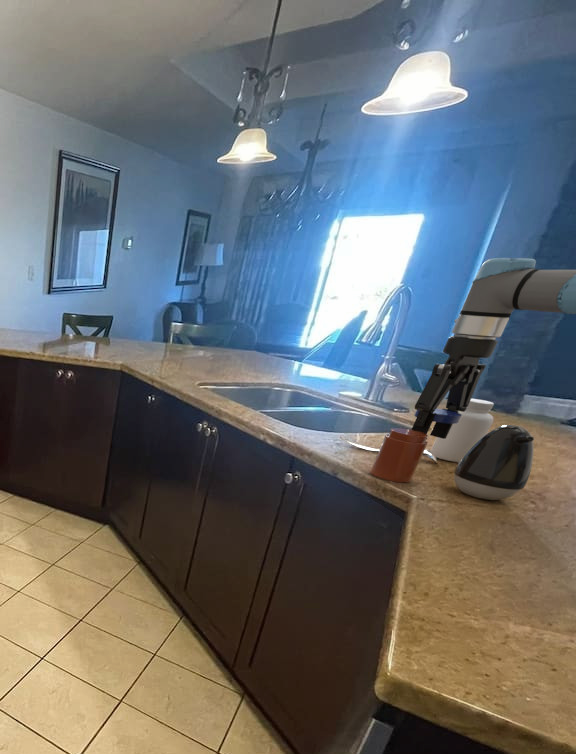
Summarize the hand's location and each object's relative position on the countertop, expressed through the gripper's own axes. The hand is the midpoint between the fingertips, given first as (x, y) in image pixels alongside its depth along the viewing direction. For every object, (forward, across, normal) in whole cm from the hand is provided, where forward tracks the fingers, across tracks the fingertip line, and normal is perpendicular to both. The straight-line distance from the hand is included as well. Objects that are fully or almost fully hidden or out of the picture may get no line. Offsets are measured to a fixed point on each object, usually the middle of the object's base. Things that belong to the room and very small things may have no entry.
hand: (426, 437), depth 114 cm
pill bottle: (+8, -18, -2) cm, 20 cm away
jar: (+7, +13, +3) cm, 15 cm away
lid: (-6, 0, 0) cm, 6 cm away
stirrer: (+8, -5, -9) cm, 13 cm away
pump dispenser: (+8, +5, +15) cm, 18 cm away
